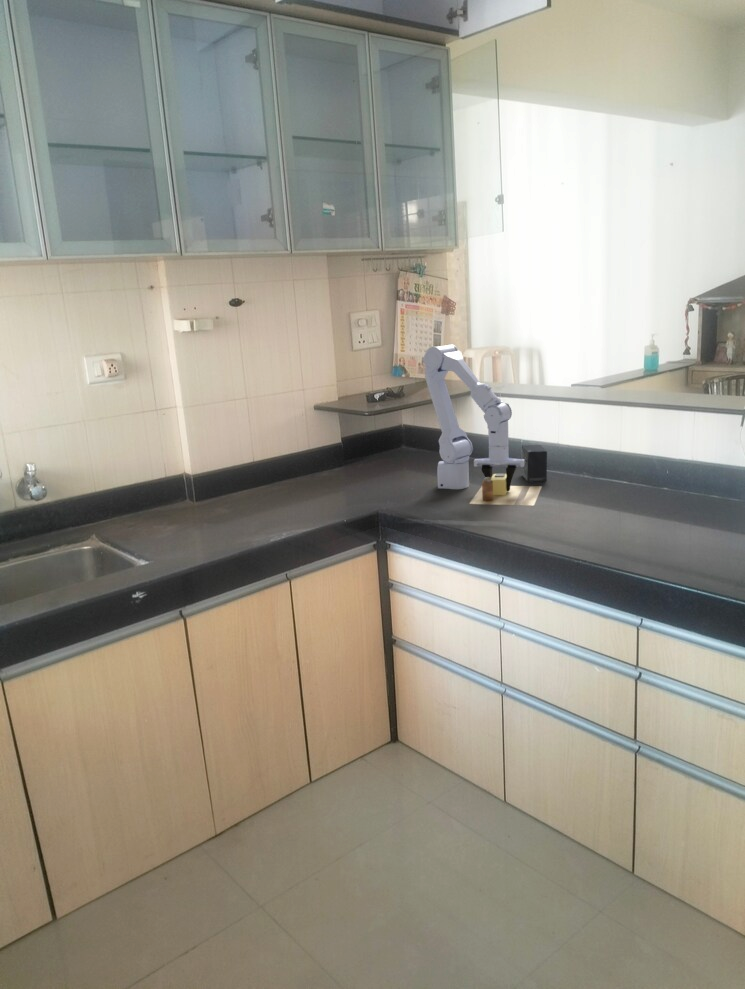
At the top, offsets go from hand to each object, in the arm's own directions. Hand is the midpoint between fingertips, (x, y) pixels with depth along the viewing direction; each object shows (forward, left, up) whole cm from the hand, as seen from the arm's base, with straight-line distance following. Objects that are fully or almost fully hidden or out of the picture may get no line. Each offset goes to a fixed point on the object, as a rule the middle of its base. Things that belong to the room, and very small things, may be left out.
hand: (499, 490), depth 223 cm
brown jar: (-2, -9, -1) cm, 9 cm away
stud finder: (0, 0, 0) cm, 0 cm away
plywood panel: (+2, -3, -2) cm, 4 cm away
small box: (+8, +19, -2) cm, 21 cm away
